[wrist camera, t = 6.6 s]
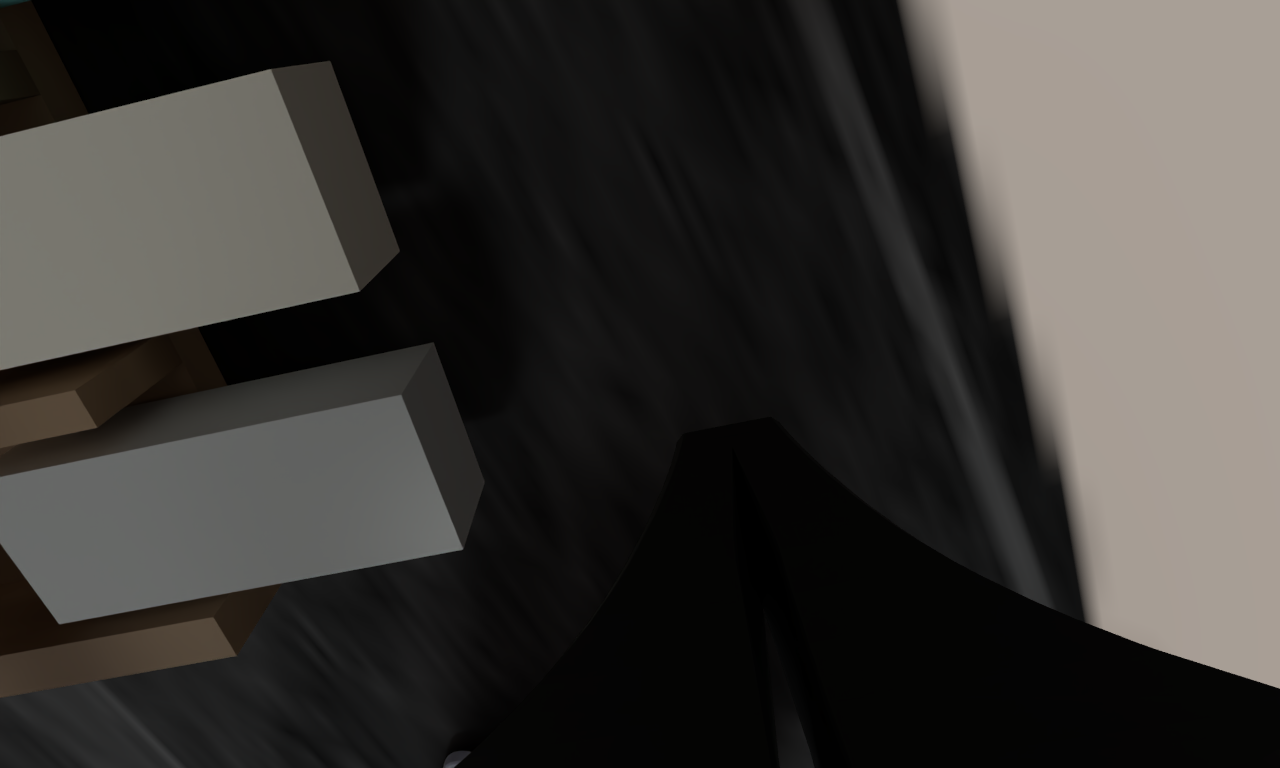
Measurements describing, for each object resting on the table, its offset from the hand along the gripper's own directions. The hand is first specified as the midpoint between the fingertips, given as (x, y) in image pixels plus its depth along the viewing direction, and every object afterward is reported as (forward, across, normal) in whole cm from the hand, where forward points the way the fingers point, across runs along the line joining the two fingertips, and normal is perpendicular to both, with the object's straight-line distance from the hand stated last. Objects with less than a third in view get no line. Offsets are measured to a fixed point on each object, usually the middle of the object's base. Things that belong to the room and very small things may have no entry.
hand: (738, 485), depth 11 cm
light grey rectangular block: (+4, +9, 0) cm, 10 cm away
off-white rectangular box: (+4, +9, -5) cm, 11 cm away
